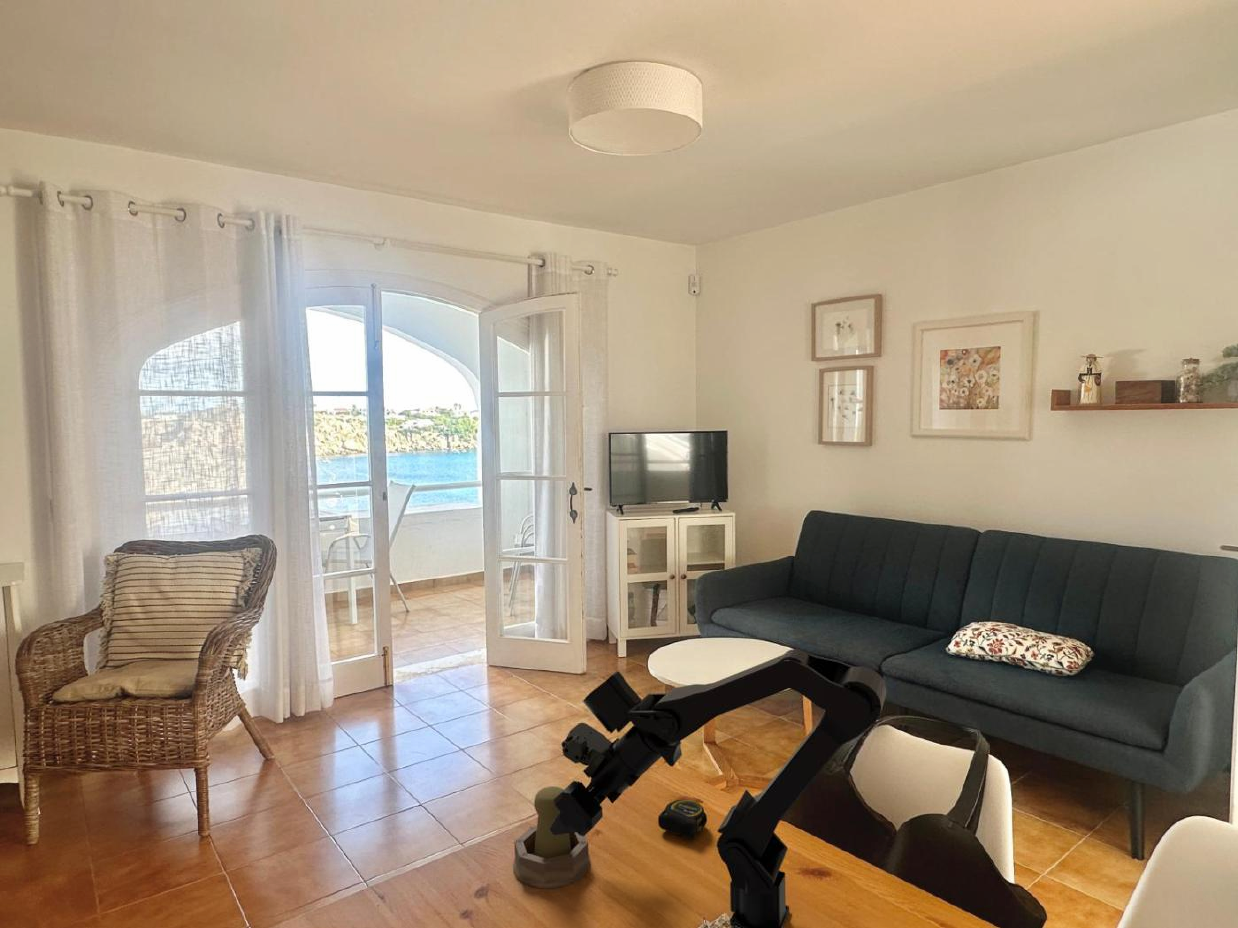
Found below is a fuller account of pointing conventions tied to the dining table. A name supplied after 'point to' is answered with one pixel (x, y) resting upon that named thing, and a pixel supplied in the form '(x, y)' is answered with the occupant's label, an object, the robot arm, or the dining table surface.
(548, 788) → the olive round-headed post
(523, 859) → the octagonal stone mortar
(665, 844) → the dining table surface
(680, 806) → the tape measure
